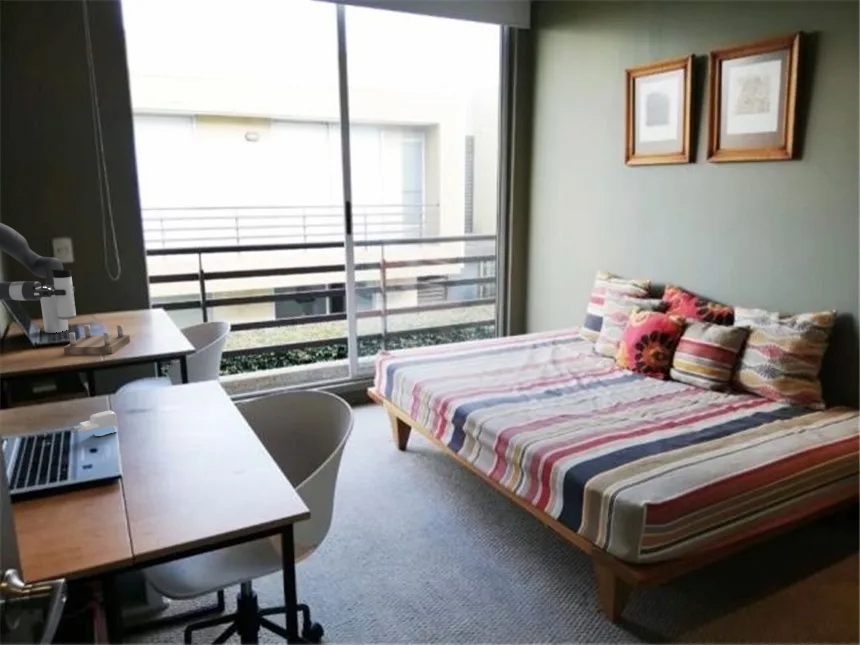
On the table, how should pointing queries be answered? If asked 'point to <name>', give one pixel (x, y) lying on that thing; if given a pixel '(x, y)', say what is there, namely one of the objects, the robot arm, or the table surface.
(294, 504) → the table surface
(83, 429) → the power adapter
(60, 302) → the travel mug
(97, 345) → the peg stand
